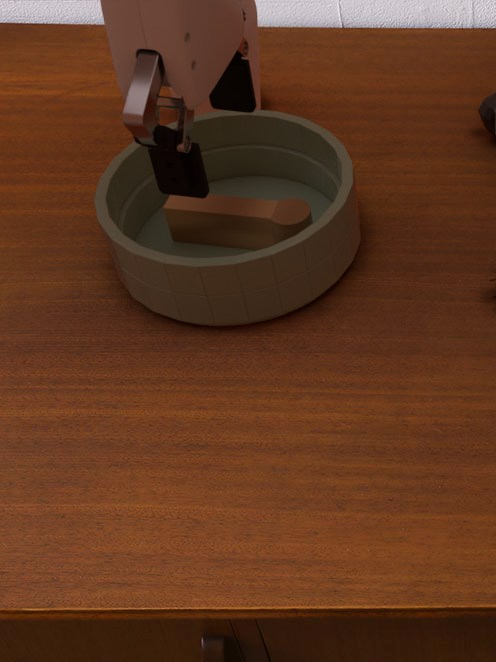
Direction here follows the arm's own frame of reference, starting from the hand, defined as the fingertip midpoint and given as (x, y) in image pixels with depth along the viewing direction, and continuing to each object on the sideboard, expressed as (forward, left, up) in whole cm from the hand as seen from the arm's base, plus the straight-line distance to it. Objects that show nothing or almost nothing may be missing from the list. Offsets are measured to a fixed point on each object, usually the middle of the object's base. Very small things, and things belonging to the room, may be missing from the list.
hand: (211, 149), depth 68 cm
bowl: (+1, 0, -9) cm, 9 cm away
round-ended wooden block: (+1, 0, -8) cm, 8 cm away
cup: (-7, +16, -9) cm, 20 cm away
